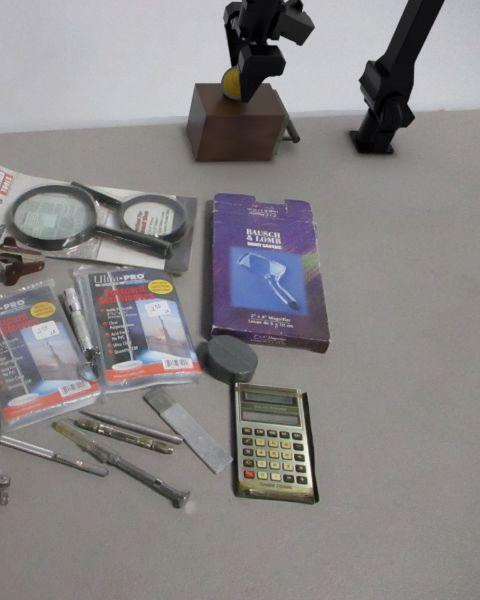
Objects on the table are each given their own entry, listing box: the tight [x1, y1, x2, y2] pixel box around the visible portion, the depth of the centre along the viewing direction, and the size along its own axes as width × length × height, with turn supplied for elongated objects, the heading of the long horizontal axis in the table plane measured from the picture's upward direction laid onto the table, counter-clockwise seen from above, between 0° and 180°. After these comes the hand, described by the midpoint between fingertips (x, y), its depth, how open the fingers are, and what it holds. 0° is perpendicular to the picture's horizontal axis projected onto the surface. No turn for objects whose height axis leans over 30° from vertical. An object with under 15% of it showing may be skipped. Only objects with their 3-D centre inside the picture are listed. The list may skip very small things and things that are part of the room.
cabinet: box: [185, 82, 285, 163], centre depth 104 cm, size 13×10×9 cm
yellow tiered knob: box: [220, 66, 241, 100], centre depth 98 cm, size 5×5×10 cm
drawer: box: [272, 88, 301, 156], centre depth 105 cm, size 16×9×8 cm, turn 93°
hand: (239, 87), depth 99 cm, fingers open, 9 cm apart
